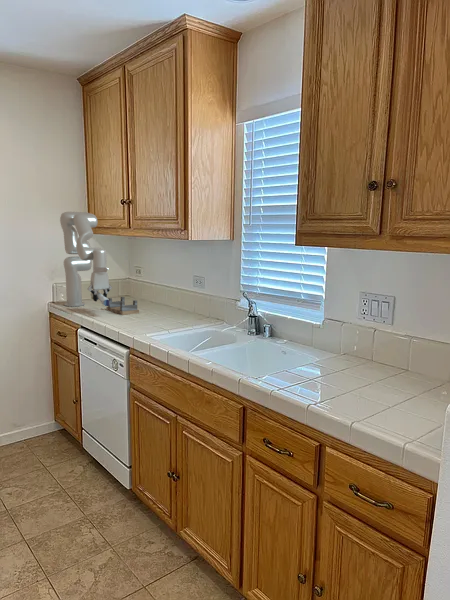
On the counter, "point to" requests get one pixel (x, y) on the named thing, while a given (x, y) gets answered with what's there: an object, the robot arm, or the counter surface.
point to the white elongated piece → (101, 298)
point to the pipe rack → (122, 307)
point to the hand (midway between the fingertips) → (100, 300)
